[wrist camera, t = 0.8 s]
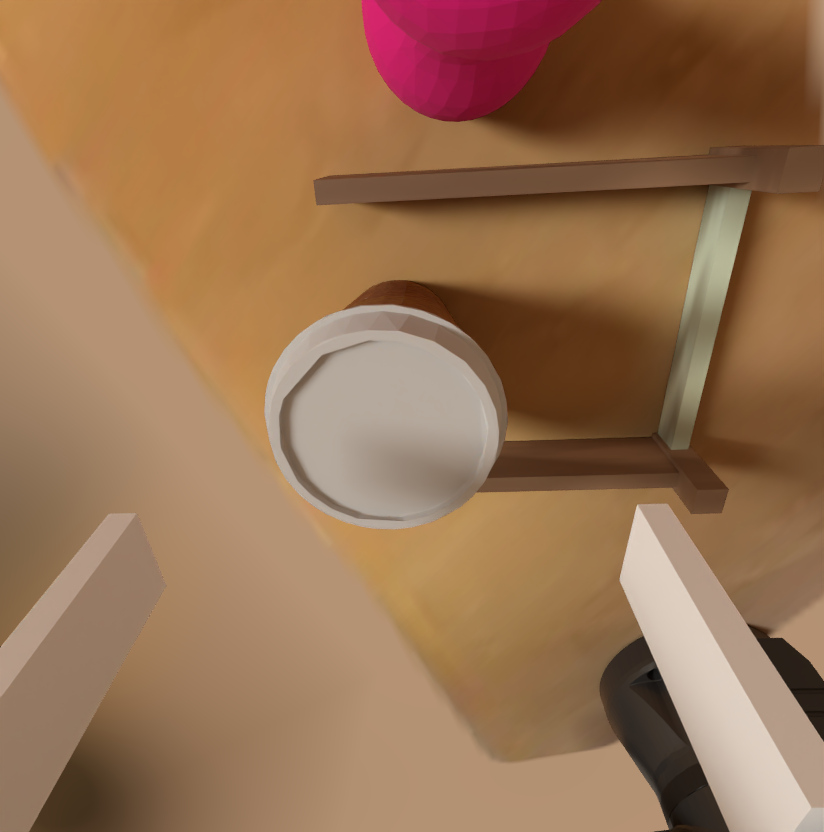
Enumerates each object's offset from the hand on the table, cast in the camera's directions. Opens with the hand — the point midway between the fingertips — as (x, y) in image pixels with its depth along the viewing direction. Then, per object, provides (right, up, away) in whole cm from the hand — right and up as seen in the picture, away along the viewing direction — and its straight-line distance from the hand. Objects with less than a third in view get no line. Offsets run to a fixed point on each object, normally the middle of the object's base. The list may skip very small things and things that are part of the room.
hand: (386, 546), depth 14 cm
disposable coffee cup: (0, +8, +16) cm, 18 cm away
